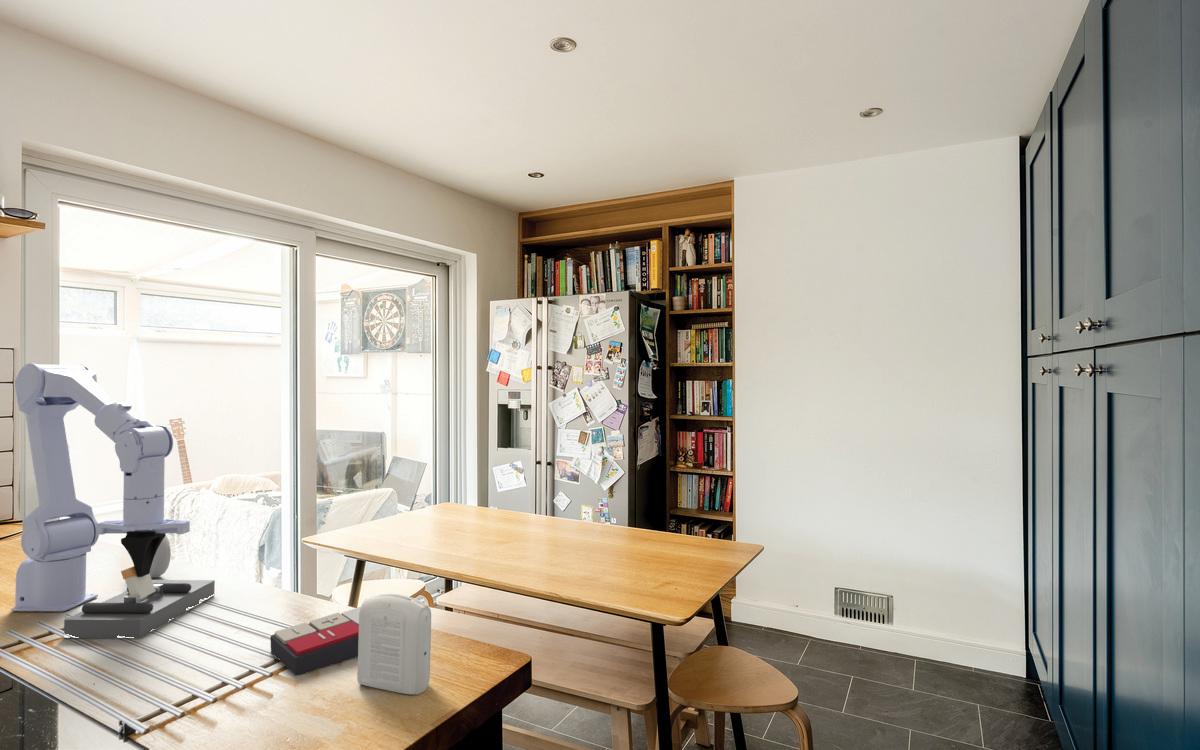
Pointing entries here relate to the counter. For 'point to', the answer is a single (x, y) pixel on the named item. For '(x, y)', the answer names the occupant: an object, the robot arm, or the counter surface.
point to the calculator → (318, 642)
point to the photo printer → (394, 643)
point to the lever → (138, 584)
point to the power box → (137, 610)
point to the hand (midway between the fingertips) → (143, 575)
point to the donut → (161, 559)
